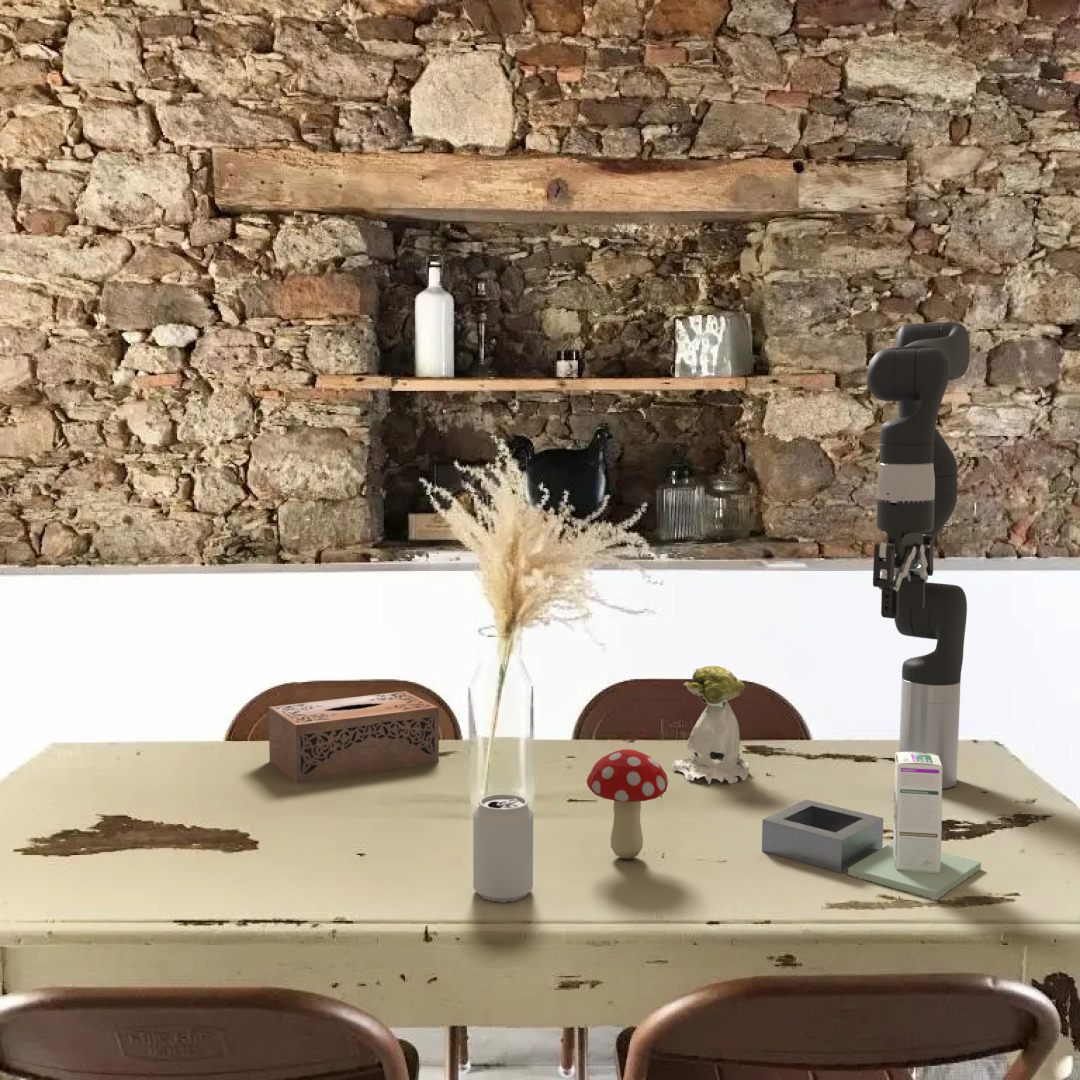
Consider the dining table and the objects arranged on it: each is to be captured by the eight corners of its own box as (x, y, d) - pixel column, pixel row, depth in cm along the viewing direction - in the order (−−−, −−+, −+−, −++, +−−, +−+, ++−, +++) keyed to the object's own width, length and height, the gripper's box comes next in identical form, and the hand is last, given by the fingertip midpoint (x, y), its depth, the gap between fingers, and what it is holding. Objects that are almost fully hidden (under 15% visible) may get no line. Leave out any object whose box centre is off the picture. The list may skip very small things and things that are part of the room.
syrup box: (941, 874, 151) (945, 764, 149) (893, 870, 152) (897, 761, 151) (936, 858, 156) (940, 752, 155) (890, 855, 157) (894, 749, 156)
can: (472, 882, 150) (472, 791, 149) (530, 880, 150) (531, 790, 149) (474, 906, 142) (474, 810, 141) (535, 904, 143) (535, 808, 142)
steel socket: (805, 829, 170) (806, 799, 170) (882, 849, 162) (883, 818, 162) (761, 851, 161) (762, 819, 161) (840, 873, 153) (841, 840, 153)
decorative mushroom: (608, 878, 151) (609, 765, 150) (572, 850, 161) (573, 744, 160) (682, 866, 156) (684, 756, 154) (642, 839, 166) (644, 736, 164)
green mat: (895, 847, 163) (895, 840, 163) (980, 869, 155) (981, 862, 155) (847, 875, 153) (848, 867, 153) (936, 900, 145) (936, 892, 145)
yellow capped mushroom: (727, 760, 206) (729, 657, 204) (762, 781, 194) (765, 672, 192) (664, 765, 202) (665, 661, 201) (696, 787, 190) (698, 676, 188)
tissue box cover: (405, 744, 217) (405, 691, 216) (438, 763, 204) (438, 707, 203) (269, 763, 204) (268, 706, 203) (296, 784, 191) (295, 725, 190)
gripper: (901, 491, 167) (899, 603, 169) (856, 499, 157) (854, 617, 159) (953, 493, 162) (950, 608, 164) (910, 501, 152) (907, 624, 154)
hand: (903, 612), depth 161 cm, fingers open, 8 cm apart
